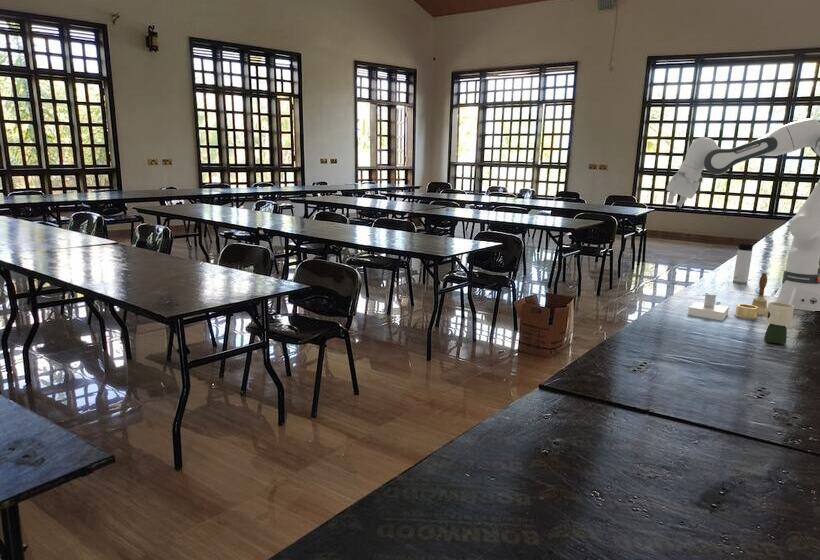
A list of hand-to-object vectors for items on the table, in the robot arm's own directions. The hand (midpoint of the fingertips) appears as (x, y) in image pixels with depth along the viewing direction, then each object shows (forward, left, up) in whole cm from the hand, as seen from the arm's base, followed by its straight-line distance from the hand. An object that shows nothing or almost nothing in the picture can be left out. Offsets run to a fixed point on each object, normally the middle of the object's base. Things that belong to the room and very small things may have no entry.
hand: (674, 204), depth 252 cm
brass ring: (-35, +22, -39) cm, 57 cm away
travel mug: (-24, -52, -39) cm, 70 cm away
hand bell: (-38, +11, -39) cm, 56 cm away
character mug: (-47, +55, -39) cm, 83 cm away
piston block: (-23, +30, -39) cm, 55 cm away
